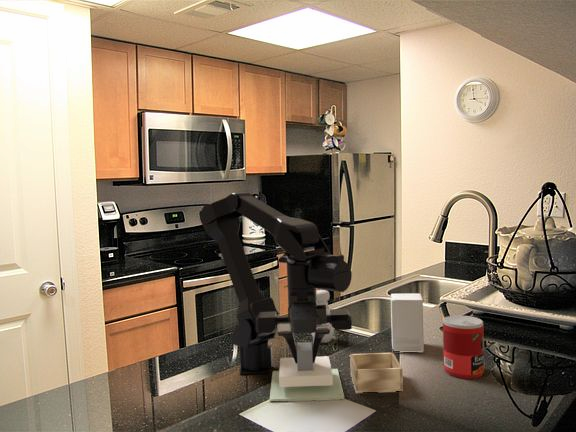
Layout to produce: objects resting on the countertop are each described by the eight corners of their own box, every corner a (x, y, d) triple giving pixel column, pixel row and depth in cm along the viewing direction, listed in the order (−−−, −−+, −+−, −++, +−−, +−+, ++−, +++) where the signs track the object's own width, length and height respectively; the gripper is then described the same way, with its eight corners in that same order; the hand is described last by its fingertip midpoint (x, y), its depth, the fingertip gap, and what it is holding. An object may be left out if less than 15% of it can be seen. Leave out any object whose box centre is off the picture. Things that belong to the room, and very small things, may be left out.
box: (356, 393, 94) (355, 370, 94) (350, 375, 103) (349, 354, 103) (403, 391, 94) (402, 368, 94) (393, 373, 103) (392, 352, 103)
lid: (279, 387, 94) (278, 356, 93) (280, 367, 104) (279, 339, 103) (332, 385, 94) (331, 354, 93) (329, 365, 104) (328, 337, 103)
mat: (269, 402, 92) (269, 399, 92) (272, 373, 106) (272, 371, 106) (344, 399, 92) (344, 396, 92) (337, 371, 106) (337, 368, 106)
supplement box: (424, 353, 114) (423, 300, 113) (392, 352, 116) (390, 299, 115) (422, 343, 121) (421, 292, 120) (391, 342, 123) (390, 292, 122)
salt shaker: (308, 342, 125) (306, 292, 124) (315, 336, 130) (313, 287, 130) (330, 344, 123) (328, 293, 122) (336, 337, 128) (335, 288, 127)
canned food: (480, 382, 97) (479, 327, 96) (439, 375, 101) (438, 322, 100) (487, 368, 103) (486, 317, 103) (448, 362, 108) (447, 313, 107)
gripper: (251, 297, 90) (255, 380, 91) (353, 293, 89) (356, 376, 90) (256, 284, 101) (259, 358, 102) (347, 281, 100) (349, 355, 101)
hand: (304, 362), depth 99 cm, fingers closed on lid, 3 cm apart
